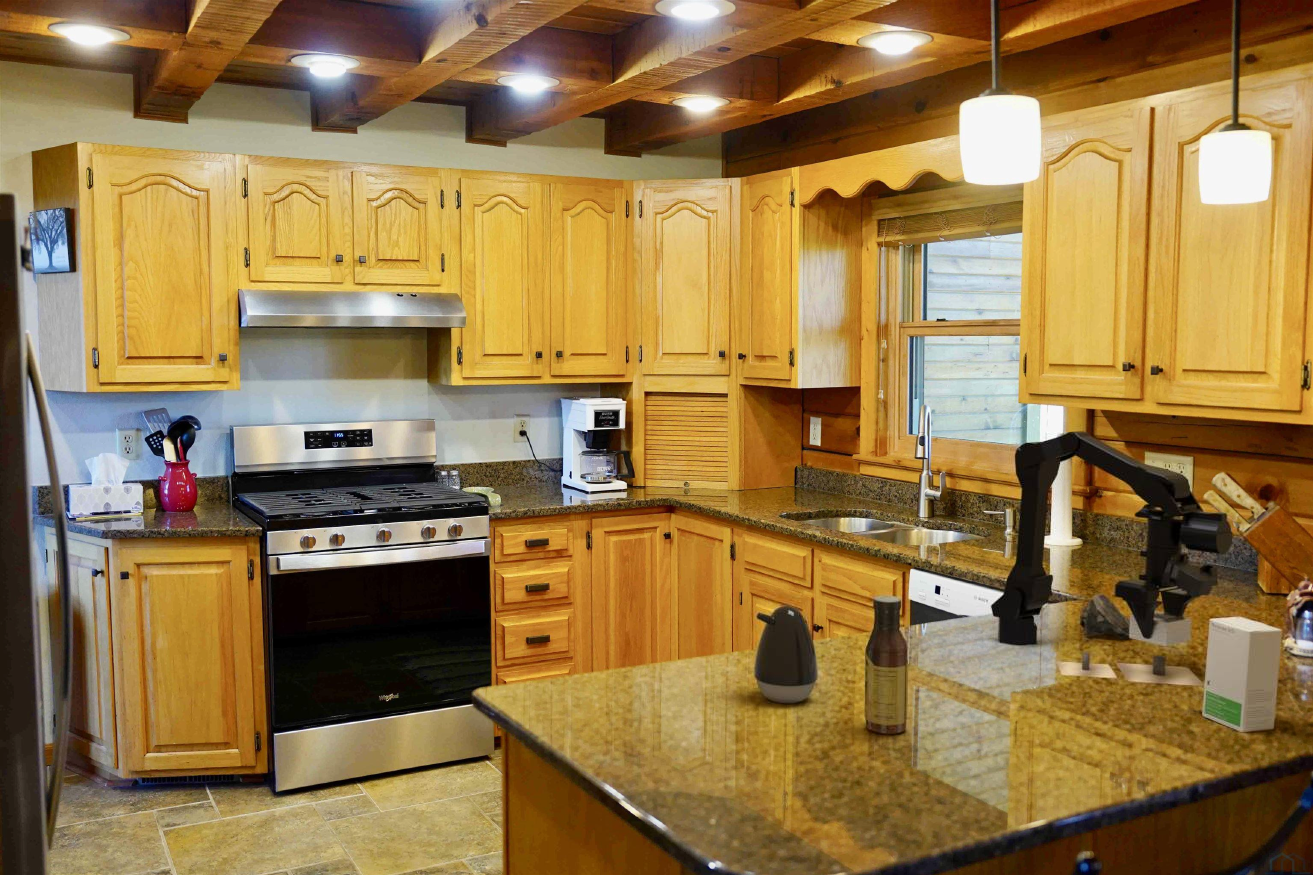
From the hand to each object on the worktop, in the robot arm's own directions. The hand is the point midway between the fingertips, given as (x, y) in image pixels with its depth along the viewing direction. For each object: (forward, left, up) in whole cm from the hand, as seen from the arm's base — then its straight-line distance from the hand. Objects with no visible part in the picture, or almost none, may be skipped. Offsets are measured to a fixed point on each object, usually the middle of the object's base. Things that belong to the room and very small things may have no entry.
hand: (1159, 635), depth 200 cm
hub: (0, 0, -8) cm, 8 cm away
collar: (0, 0, -1) cm, 1 cm away
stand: (-12, 0, -8) cm, 14 cm away
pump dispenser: (-62, -26, -8) cm, 68 cm away
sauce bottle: (-46, -38, -8) cm, 60 cm away
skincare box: (+7, -22, -8) cm, 25 cm away
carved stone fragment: (-3, +33, -8) cm, 34 cm away
